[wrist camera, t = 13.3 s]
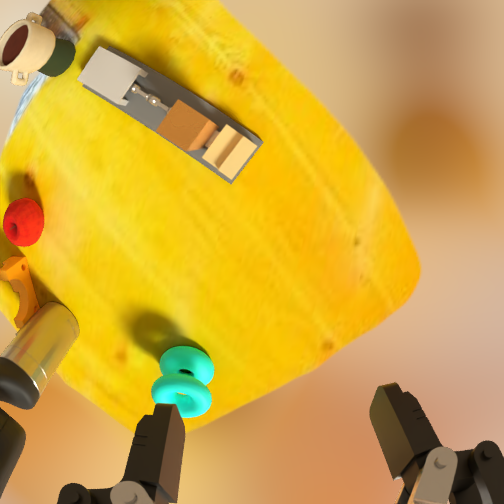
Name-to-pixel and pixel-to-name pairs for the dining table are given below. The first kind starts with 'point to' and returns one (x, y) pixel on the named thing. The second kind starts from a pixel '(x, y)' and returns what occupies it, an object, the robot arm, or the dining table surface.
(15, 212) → the apple
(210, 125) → the orange-brown upright block
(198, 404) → the donuts
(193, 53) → the dining table surface
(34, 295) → the pipe clamp
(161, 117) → the board
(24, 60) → the mug on green stand
